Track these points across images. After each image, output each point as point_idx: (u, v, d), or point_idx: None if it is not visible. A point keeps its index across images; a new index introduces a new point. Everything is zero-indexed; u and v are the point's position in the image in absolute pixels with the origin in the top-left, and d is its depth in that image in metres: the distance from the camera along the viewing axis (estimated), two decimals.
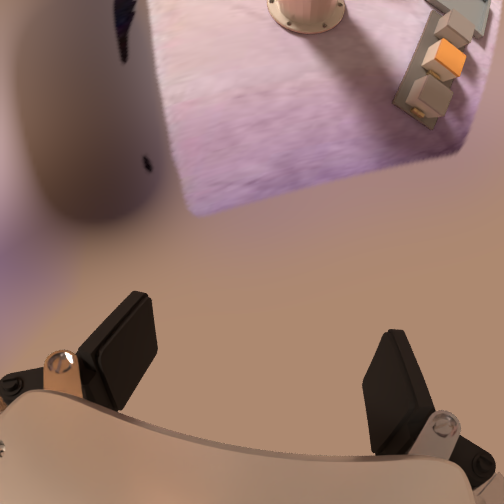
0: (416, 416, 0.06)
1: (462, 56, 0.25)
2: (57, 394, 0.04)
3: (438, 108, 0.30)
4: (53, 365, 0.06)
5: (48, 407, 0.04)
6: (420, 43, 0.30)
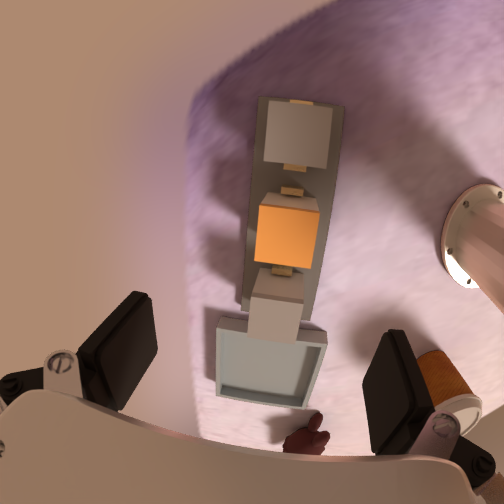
0: (416, 416, 0.06)
1: (263, 254, 0.23)
2: (57, 394, 0.04)
3: (286, 108, 0.18)
4: (53, 365, 0.06)
5: (48, 407, 0.04)
6: (324, 242, 0.28)
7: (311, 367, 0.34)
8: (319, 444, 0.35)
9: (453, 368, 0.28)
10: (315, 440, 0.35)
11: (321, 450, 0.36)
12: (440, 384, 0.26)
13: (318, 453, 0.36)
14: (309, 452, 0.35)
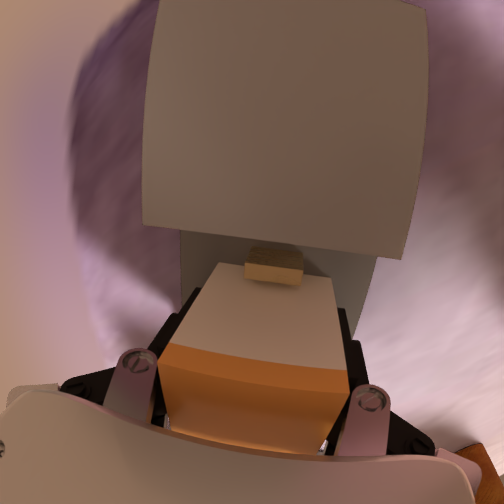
0: None
1: None
2: (57, 394, 0.04)
3: None
4: (129, 362, 0.07)
5: (48, 407, 0.04)
6: None
7: None
8: None
9: (492, 470, 0.12)
10: None
11: None
12: None
13: None
14: None
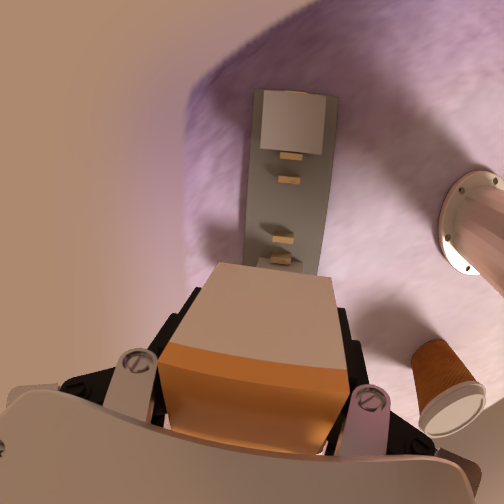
0: None
1: None
2: (57, 394, 0.04)
3: (281, 97, 0.19)
4: (129, 362, 0.07)
5: (48, 407, 0.04)
6: (322, 230, 0.28)
7: None
8: None
9: (455, 356, 0.28)
10: None
11: (325, 441, 0.36)
12: (443, 372, 0.26)
13: (322, 444, 0.36)
14: None
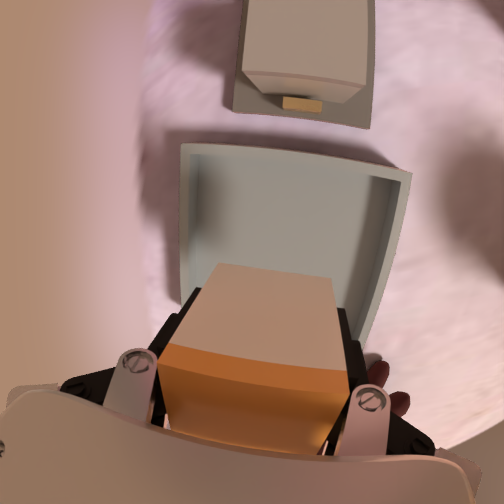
0: None
1: None
2: (57, 394, 0.04)
3: None
4: (129, 362, 0.07)
5: (48, 407, 0.04)
6: None
7: (374, 253, 0.17)
8: None
9: None
10: None
11: None
12: None
13: None
14: None
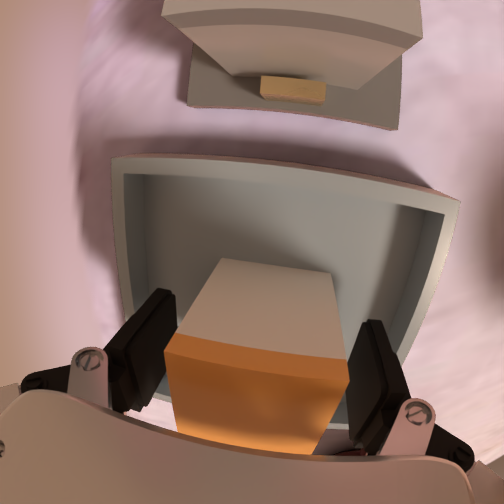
0: (389, 403, 0.07)
1: (195, 435, 0.08)
2: (57, 394, 0.04)
3: None
4: (81, 361, 0.07)
5: (48, 407, 0.04)
6: None
7: (394, 309, 0.12)
8: None
9: None
10: None
11: None
12: None
13: None
14: None
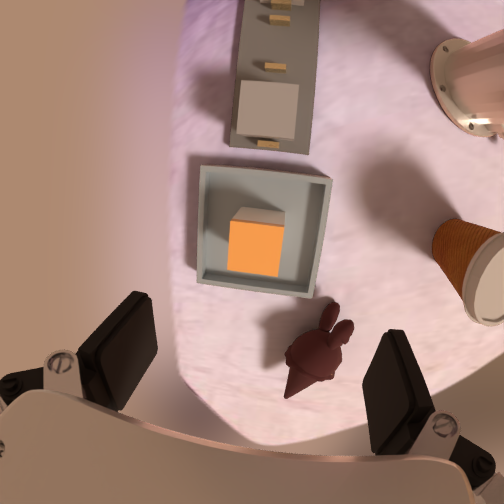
0: (416, 416, 0.06)
1: (234, 263, 0.26)
2: (57, 394, 0.04)
3: None
4: (53, 365, 0.06)
5: (48, 407, 0.04)
6: (315, 66, 0.24)
7: (315, 228, 0.30)
8: (339, 340, 0.29)
9: None
10: (334, 333, 0.29)
11: (338, 359, 0.31)
12: (475, 232, 0.21)
13: (335, 362, 0.30)
14: (324, 356, 0.30)
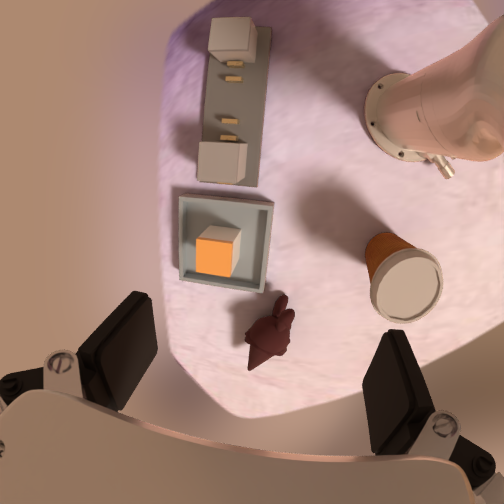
0: (416, 416, 0.06)
1: (200, 267, 0.37)
2: (57, 394, 0.04)
3: (222, 20, 0.24)
4: (53, 365, 0.06)
5: (48, 407, 0.04)
6: (261, 116, 0.34)
7: (264, 241, 0.41)
8: (283, 324, 0.40)
9: (405, 241, 0.34)
10: (279, 318, 0.40)
11: (286, 340, 0.42)
12: (390, 246, 0.32)
13: (282, 342, 0.41)
14: (272, 336, 0.41)
